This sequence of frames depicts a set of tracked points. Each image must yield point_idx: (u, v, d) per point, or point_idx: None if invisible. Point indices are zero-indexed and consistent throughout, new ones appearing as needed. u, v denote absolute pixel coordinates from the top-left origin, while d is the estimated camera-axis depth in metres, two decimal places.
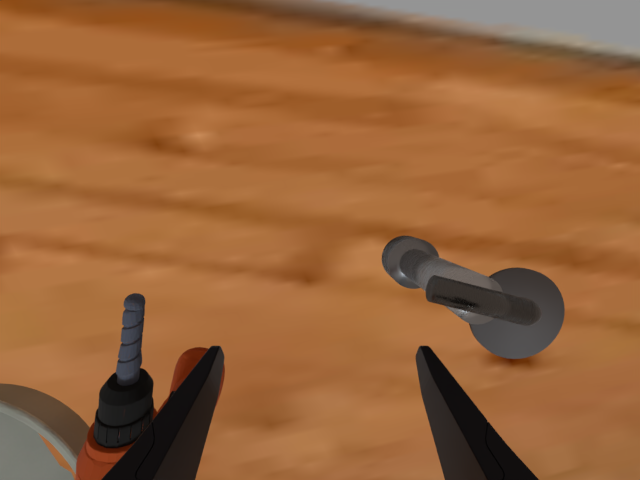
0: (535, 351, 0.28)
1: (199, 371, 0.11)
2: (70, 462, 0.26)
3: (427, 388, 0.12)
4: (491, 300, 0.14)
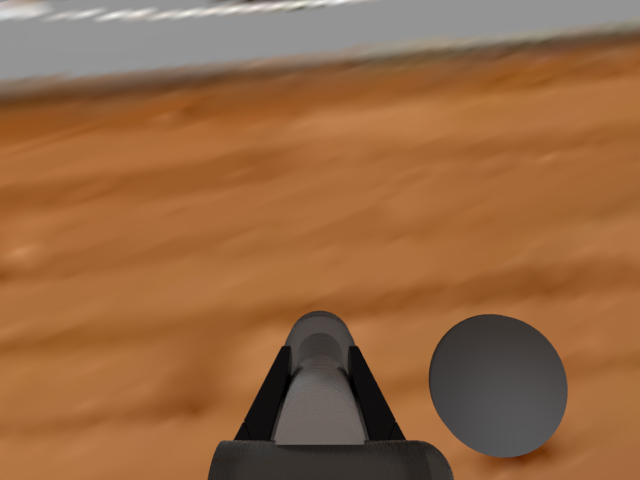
0: (546, 434, 0.19)
1: (277, 371, 0.11)
2: None
3: None
4: None
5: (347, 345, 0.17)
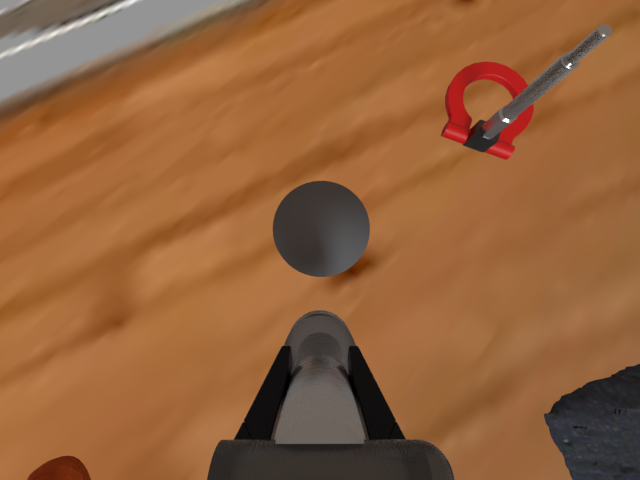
0: (362, 249, 0.26)
1: (277, 371, 0.11)
2: None
3: None
4: None
5: (347, 345, 0.17)
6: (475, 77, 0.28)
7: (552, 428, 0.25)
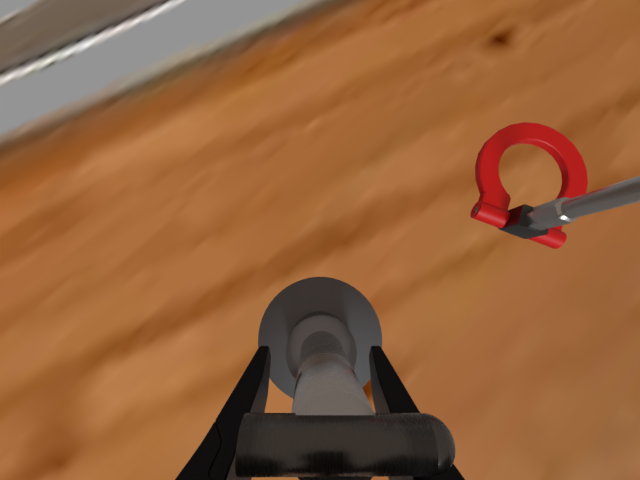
0: None
1: (253, 371, 0.11)
2: None
3: (375, 388, 0.12)
4: (346, 446, 0.07)
5: (347, 343, 0.18)
6: (513, 143, 0.22)
7: None
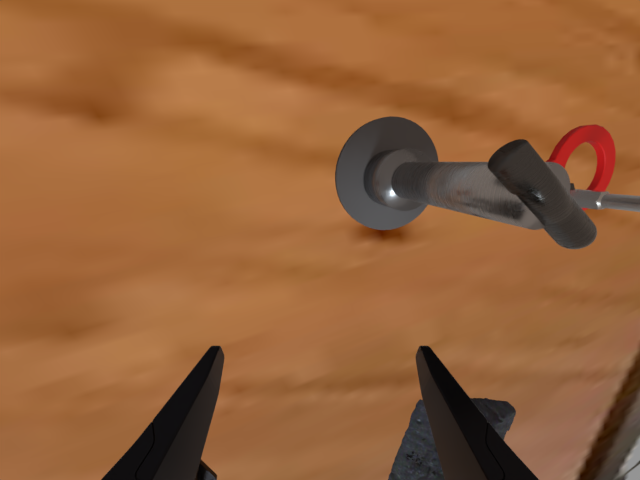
0: (406, 221, 0.25)
1: (199, 371, 0.11)
2: None
3: (427, 388, 0.12)
4: (567, 197, 0.10)
5: None
6: (593, 140, 0.27)
7: (417, 410, 0.32)
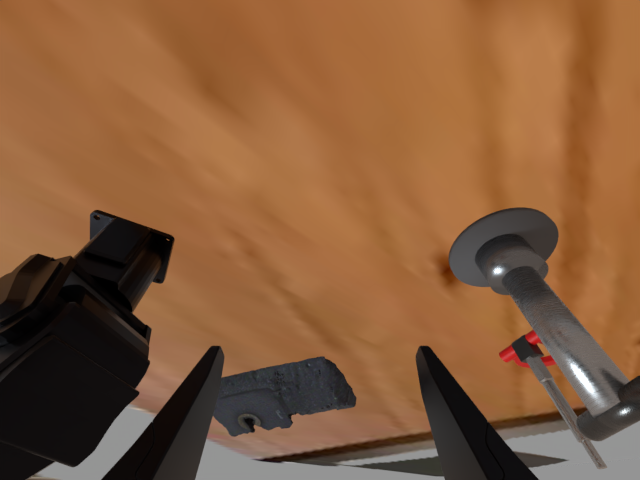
0: (467, 281, 0.28)
1: (199, 371, 0.11)
2: None
3: (427, 388, 0.12)
4: (631, 424, 0.15)
5: None
6: None
7: (315, 359, 0.38)
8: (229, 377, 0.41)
